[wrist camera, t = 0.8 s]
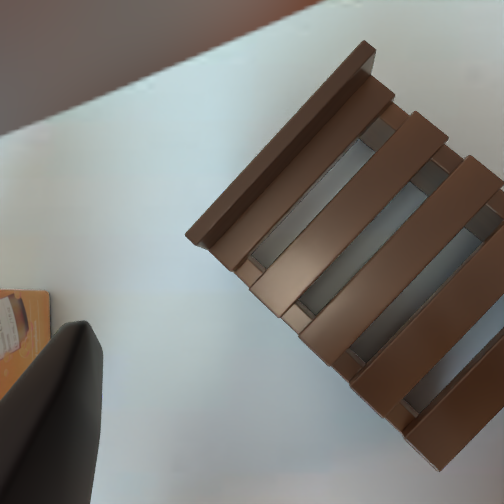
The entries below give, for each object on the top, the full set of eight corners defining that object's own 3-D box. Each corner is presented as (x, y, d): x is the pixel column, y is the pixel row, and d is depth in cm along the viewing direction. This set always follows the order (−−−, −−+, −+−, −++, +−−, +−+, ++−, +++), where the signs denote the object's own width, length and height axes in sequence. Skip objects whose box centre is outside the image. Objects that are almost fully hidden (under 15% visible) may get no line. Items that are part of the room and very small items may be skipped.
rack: (564, 286, 20) (674, 283, 14) (417, 437, 20) (459, 501, 14) (352, 110, 22) (363, 38, 16) (222, 250, 22) (183, 234, 16)
